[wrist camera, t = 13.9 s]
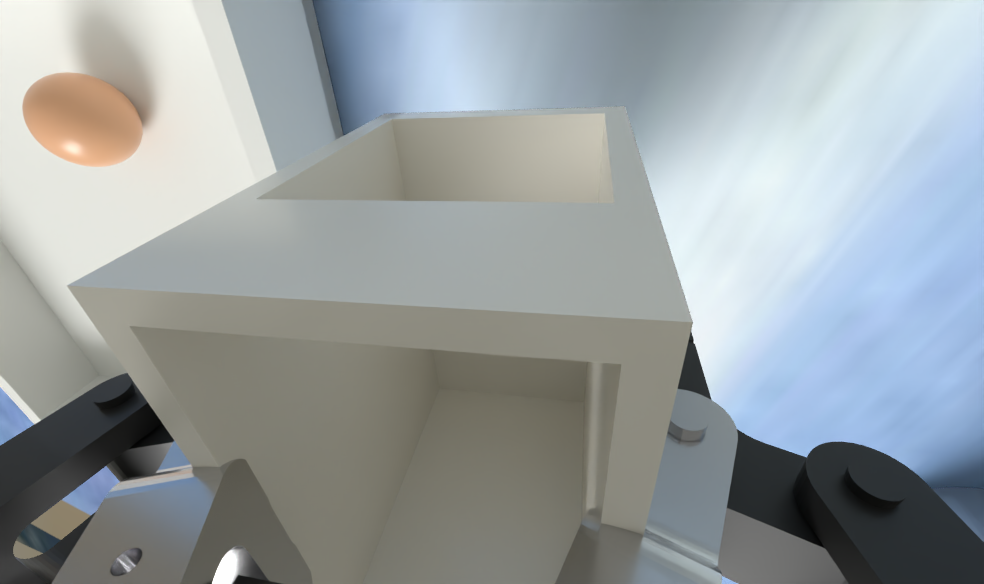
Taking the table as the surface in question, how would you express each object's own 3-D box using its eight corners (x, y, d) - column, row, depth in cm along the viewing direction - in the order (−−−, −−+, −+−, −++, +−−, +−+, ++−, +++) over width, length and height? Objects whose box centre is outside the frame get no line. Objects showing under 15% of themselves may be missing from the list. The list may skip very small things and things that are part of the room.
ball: (144, 71, 16) (61, 57, 13) (175, 158, 17) (104, 162, 14) (70, 86, 16) (-26, 75, 13) (105, 169, 17) (22, 175, 14)
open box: (624, 106, 9) (691, 323, 3) (597, 397, 13) (601, 716, 7) (384, 113, 9) (67, 284, 4) (434, 382, 14) (322, 653, 8)
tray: (296, -68, 13) (190, -94, 9) (407, 413, 23) (376, 480, 20) (-178, -15, 17) (-370, -20, 13) (105, 377, 27) (37, 427, 24)
